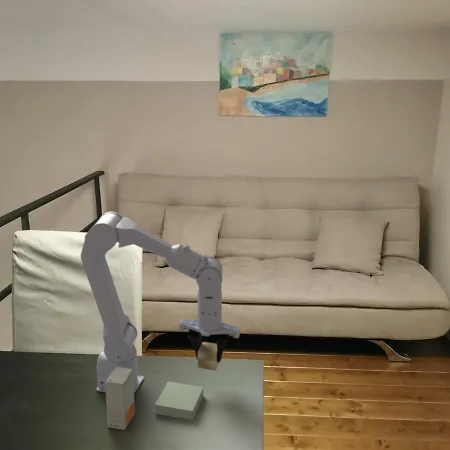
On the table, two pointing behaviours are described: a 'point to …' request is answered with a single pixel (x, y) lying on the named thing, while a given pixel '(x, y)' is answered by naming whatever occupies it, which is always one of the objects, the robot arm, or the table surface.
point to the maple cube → (208, 356)
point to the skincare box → (120, 398)
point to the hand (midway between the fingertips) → (209, 358)
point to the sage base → (179, 400)
